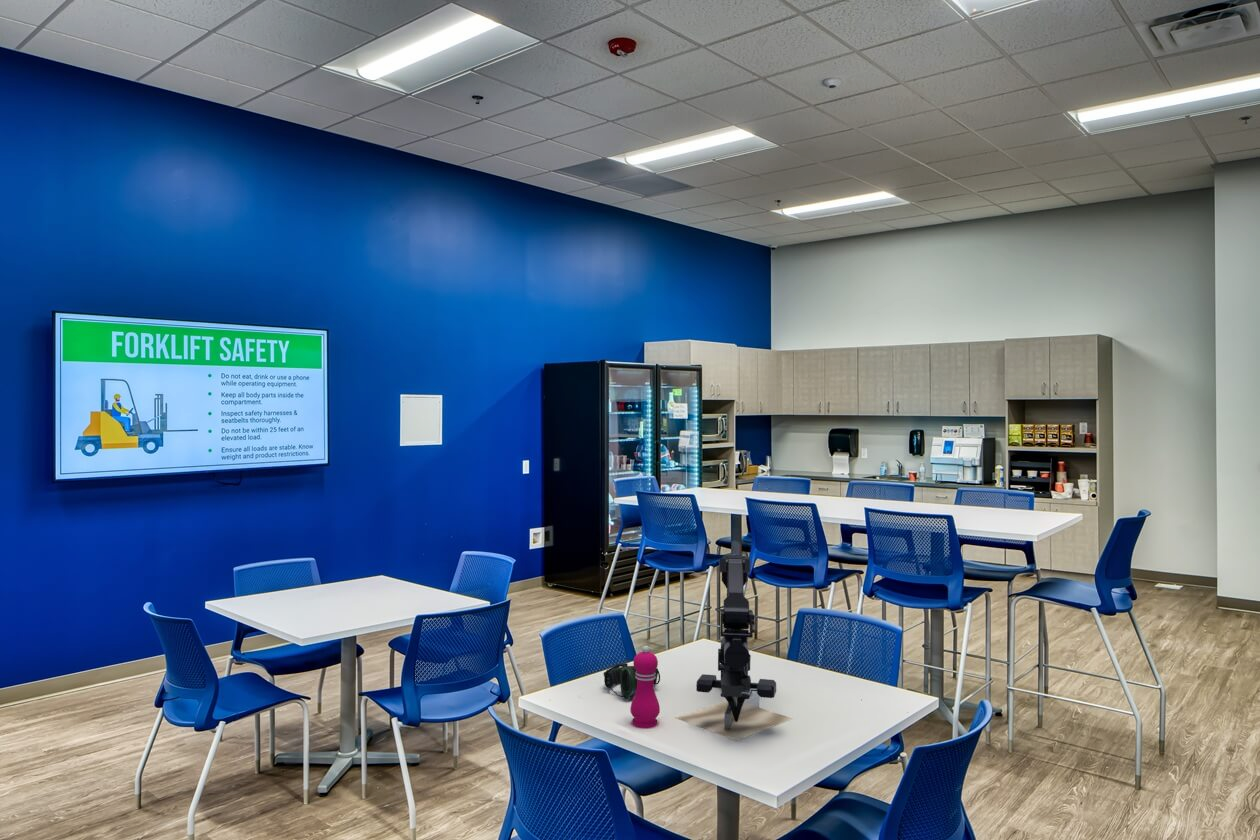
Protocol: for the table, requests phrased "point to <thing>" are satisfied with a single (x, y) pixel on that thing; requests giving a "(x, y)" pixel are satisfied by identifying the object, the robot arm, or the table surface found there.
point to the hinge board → (744, 727)
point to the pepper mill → (645, 691)
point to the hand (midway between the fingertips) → (736, 721)
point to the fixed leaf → (750, 703)
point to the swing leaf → (728, 718)
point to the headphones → (624, 679)
